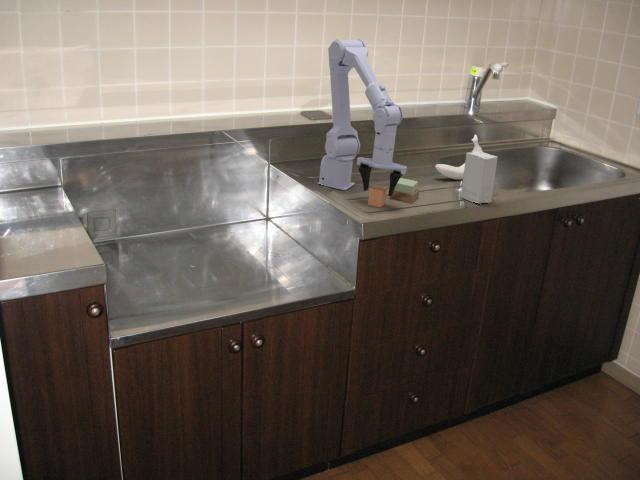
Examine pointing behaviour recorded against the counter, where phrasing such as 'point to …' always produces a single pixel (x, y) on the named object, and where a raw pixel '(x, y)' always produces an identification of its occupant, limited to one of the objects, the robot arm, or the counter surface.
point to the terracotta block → (377, 196)
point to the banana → (457, 171)
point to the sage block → (406, 186)
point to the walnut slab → (405, 196)
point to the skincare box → (479, 177)
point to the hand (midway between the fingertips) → (378, 192)
